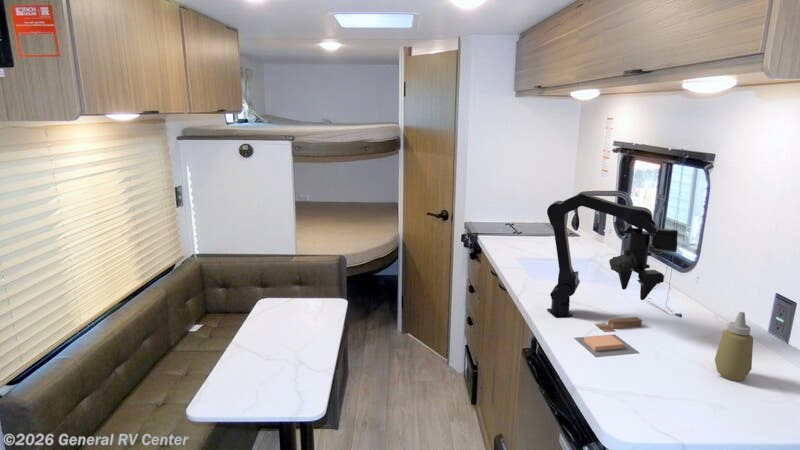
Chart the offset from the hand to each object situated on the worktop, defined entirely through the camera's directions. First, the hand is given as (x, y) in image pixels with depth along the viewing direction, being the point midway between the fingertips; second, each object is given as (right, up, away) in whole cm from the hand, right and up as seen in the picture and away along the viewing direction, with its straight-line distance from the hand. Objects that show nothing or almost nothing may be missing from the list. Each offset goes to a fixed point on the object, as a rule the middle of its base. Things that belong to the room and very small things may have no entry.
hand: (632, 294), depth 151 cm
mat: (-14, -14, -11) cm, 22 cm away
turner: (-4, -11, +2) cm, 12 cm away
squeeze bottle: (+13, -18, -26) cm, 34 cm away
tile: (-10, -13, -11) cm, 19 cm away
